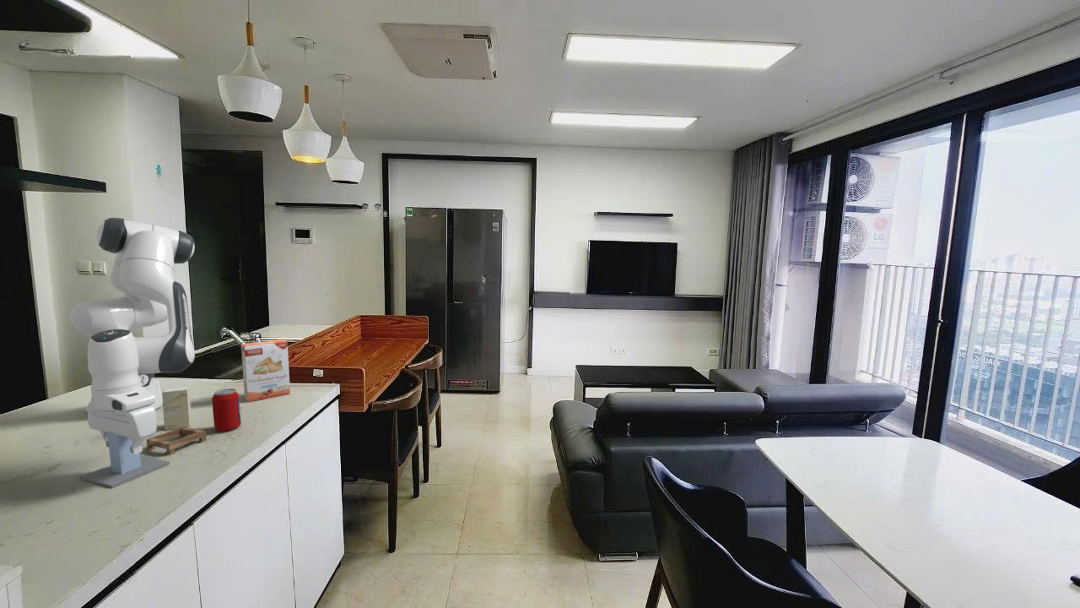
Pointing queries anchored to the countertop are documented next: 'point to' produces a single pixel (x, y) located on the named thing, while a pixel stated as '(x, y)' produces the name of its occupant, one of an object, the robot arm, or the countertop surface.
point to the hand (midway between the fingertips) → (124, 449)
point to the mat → (115, 479)
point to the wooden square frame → (170, 446)
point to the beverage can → (226, 410)
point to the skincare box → (176, 407)
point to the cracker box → (265, 369)
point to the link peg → (122, 454)
